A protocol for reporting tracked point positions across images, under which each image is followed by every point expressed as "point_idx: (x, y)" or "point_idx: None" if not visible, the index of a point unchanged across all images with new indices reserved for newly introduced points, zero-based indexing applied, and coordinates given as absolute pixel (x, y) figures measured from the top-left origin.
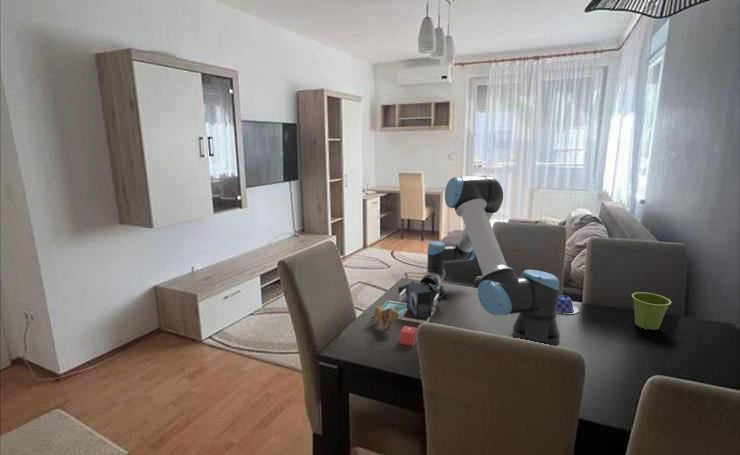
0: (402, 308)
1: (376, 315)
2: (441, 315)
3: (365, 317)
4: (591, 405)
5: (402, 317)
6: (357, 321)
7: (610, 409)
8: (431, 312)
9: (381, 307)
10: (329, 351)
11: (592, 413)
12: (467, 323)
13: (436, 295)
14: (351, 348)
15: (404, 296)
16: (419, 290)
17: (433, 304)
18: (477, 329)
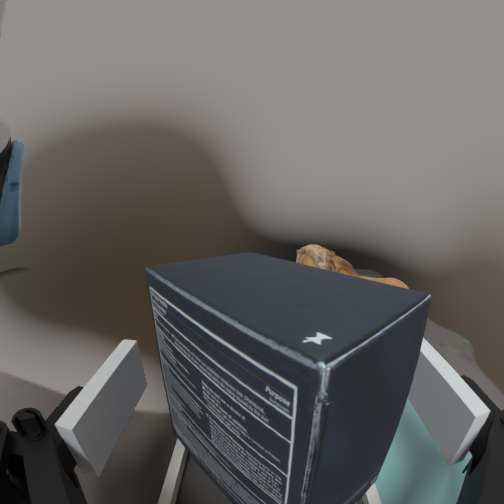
0: (408, 484)
1: None
2: (108, 484)
3: (454, 350)
4: (14, 274)
5: None
6: (444, 329)
7: (4, 274)
8: (173, 482)
9: (384, 281)
10: (371, 271)
11: (23, 270)
12: (14, 410)
13: (95, 391)
14: None
15: (430, 425)
16: (244, 259)
17: (144, 375)
18: (8, 377)
